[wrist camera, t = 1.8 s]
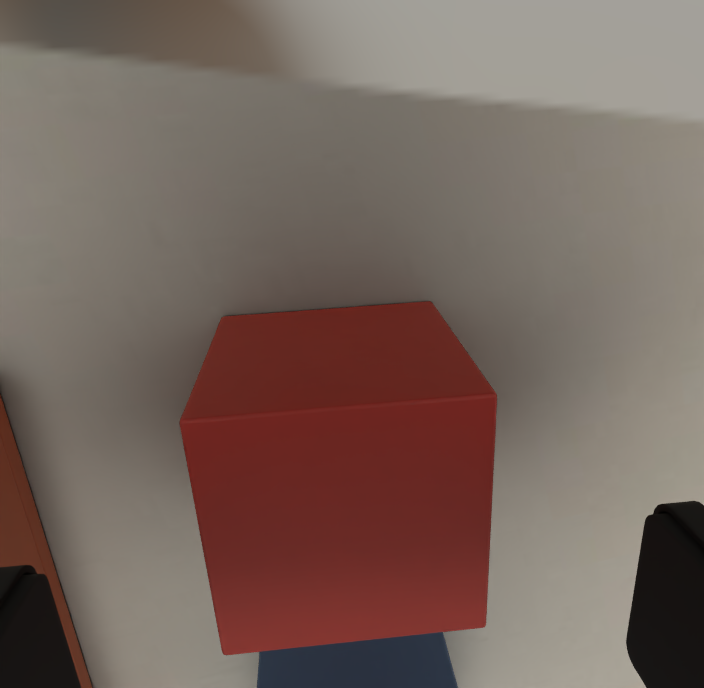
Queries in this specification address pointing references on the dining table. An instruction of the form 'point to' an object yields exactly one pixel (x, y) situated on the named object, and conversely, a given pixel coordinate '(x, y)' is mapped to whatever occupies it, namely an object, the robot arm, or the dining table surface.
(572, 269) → the dining table surface
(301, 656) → the blue block
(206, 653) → the dining table surface
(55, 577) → the orange open box
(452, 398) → the red block
